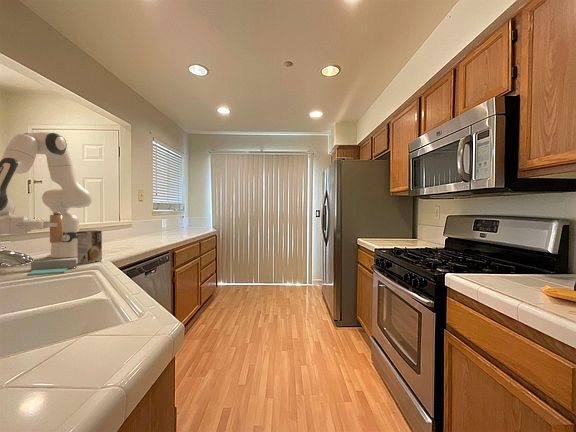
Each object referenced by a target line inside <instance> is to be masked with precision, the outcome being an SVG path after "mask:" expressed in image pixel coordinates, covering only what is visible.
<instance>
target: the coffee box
mask: <svg viewBox="0 0 576 432" xmlns="http://www.w3.org/2000/svg"><path fill="white" fill-rule="evenodd" d="M102 234H103V233H102V230H95V229H94V230H79V232H77V257H76V264H80V263H89V264H91V263H90V262H94V263H96V262H95V261H99V262H102V261H103V256H102V255H103V251H102V250H103V249H102V248H103V247H102V245H103V244H102V242H103V241H102V240H103V239H102ZM101 260H102V261H101Z"/></svg>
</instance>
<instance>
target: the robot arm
mask: <svg viewBox="0 0 576 432" xmlns="http://www.w3.org/2000/svg"><path fill="white" fill-rule="evenodd" d="M67 146H68V145H67V140H66V139H65V138H64V136H63V135H62V134H59V133H55V132H47V131H46V132H45V131H44V132H43V131H42V132H41V131H40V132H26V133H17V134H16V135H14V136H13V137H12V138H11V140H10V141H9V143H8V144H7V146H6V148H5V150H4V152H3V155H2V157H1V160H0V235H5V234H6V235H7V234H8V235H27V234H28V232H32V231H33V230H43V229H50V227H57V226H58V223H50V219H42V218H41V219H39V218H31V217H30V216H28V215H26V214H14V212H15V208H16V207H15V203H14V201H13V200H12V199H11V198H10V197H9V196H8V193H7V191H8V187H9V186H10V184H11V181H12V180H13V178H14V176H15V175H16V174H25V173H28V172H29V171H30V170H31V168H32V167H33V165H34V162H35V160H36V158H37V155H45V156H46V164H47V168H48V172H49V176H50V179H51V181H53V183H56V184H57V185H59V187H60V188H54V189H47V190H45V191H44V192H43V194H42V196H41V197H42V198H41V199H42V203H43V204H44V205H45V206H46V207H47V208H49V210H50V211H51V213H52V214H53V213H60V215H63V242H60V243H51V245H50V254H48V255H47V256H46V258H54V259H55V258H56V259H57V258H60V259H62V258H63V259H64V258H77V232H79V231H80V219H79V217H78V216H77V215H75V214H74V213H73V212H72V211H71V209H81V208H87V207H89V206H90V205H91V204H92V201H93V197H92V194H91V192H90V191H89V190H87V189H86V188H84V187H83V186H82V185H81V184H80V182H79V180H77V178H76V174H75V172H74V171H75V170H74V167H73V162H72V158H71V155H70V153H69V151H68V149H67Z"/></svg>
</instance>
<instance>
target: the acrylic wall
mask: <svg viewBox="0 0 576 432" xmlns="http://www.w3.org/2000/svg"><path fill="white" fill-rule="evenodd" d="M74 267H76V268H77V258H75V259H74V258H73V259H71V258H70V259H57V260H55V259H54V260H53V259H52V260H37V261H36V260H35V261H30V272H31V271H33V270H44V269H59V268H72V269H75V268H74Z"/></svg>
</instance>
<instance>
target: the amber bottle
mask: <svg viewBox="0 0 576 432" xmlns="http://www.w3.org/2000/svg"><path fill="white" fill-rule="evenodd" d="M49 220H50V223H58V226H57V227H49V243H60V242H63V215H60V213H53V212H52V214H50V215H49Z"/></svg>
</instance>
